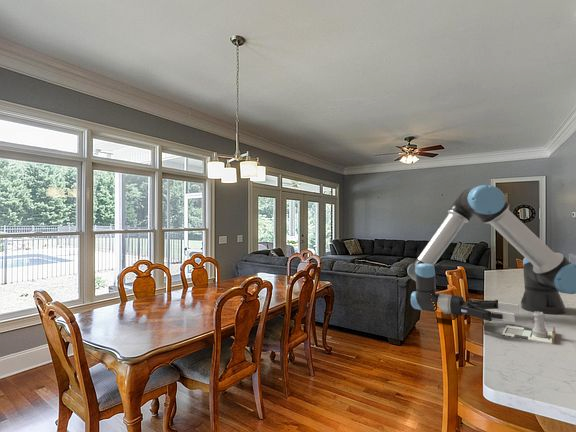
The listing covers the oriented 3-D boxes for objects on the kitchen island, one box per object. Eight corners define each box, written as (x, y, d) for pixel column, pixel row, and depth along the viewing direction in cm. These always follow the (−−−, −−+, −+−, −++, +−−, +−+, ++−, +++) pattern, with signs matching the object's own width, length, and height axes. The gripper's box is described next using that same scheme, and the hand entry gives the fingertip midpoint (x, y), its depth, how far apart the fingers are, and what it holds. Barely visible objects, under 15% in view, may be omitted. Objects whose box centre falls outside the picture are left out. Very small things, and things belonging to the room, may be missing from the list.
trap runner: (507, 326, 120) (506, 320, 120) (555, 333, 111) (555, 327, 111) (502, 335, 111) (501, 329, 111) (554, 344, 102) (553, 337, 102)
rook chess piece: (541, 333, 111) (539, 310, 111) (552, 337, 107) (550, 313, 107) (528, 333, 111) (527, 310, 111) (539, 338, 106) (537, 314, 107)
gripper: (460, 306, 136) (521, 314, 122) (443, 322, 117) (513, 333, 103) (459, 289, 136) (519, 295, 122) (442, 302, 117) (511, 310, 103)
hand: (517, 312), depth 113 cm, fingers open, 13 cm apart
